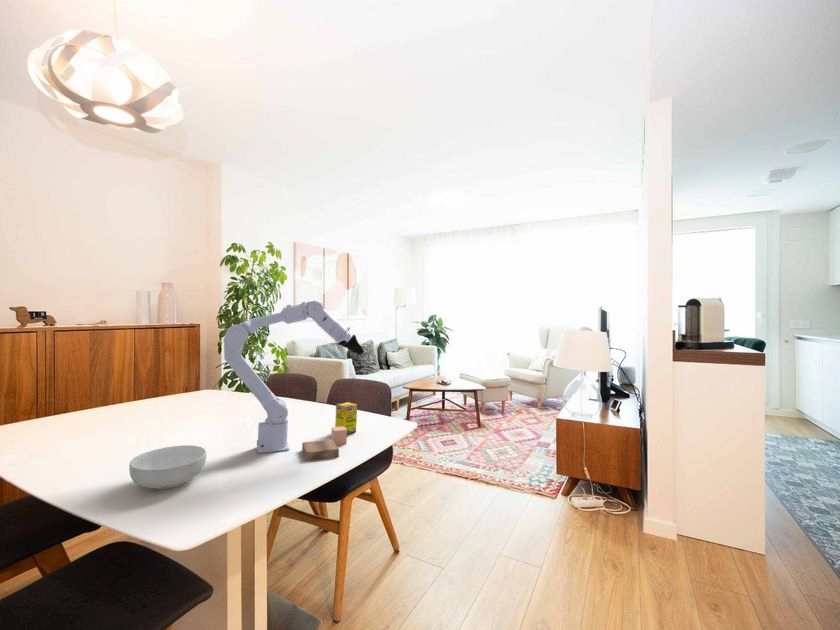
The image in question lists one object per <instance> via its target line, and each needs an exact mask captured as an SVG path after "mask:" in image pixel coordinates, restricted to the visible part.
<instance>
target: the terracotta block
mask: <svg viewBox="0 0 840 630" xmlns="http://www.w3.org/2000/svg"><path fill="white" fill-rule="evenodd" d="M330 434H331V435H330V437H331V439H330V440H333V441H334V442H335V444H336V445H337V446H338V445H339V444H340V445H347V440H348V438H347V435H348V434H347V429H346V428H345V427H344V426H342V427H335V426H333V427H331V433H330ZM340 445H339V446H340Z"/></svg>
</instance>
